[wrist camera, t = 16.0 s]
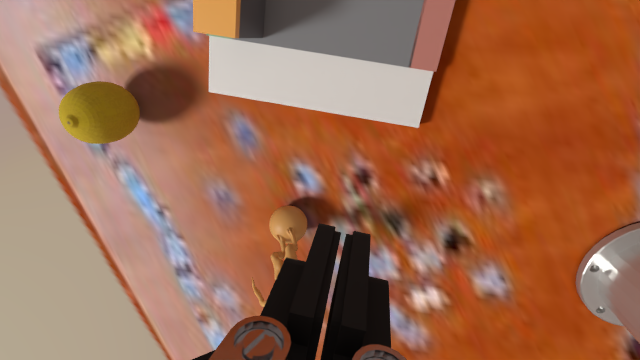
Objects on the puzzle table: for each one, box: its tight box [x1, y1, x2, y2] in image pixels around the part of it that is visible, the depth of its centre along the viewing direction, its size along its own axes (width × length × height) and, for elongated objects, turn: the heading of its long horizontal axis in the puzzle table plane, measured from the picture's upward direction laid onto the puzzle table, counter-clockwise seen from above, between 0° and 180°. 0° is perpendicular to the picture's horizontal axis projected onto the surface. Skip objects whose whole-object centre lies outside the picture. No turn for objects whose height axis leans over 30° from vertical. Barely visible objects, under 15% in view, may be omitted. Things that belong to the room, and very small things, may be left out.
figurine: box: [252, 206, 307, 307], centre depth 33 cm, size 8×6×12 cm
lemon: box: [59, 82, 140, 144], centre depth 32 cm, size 6×6×8 cm
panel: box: [206, 0, 455, 128], centre depth 29 cm, size 20×16×1 cm
